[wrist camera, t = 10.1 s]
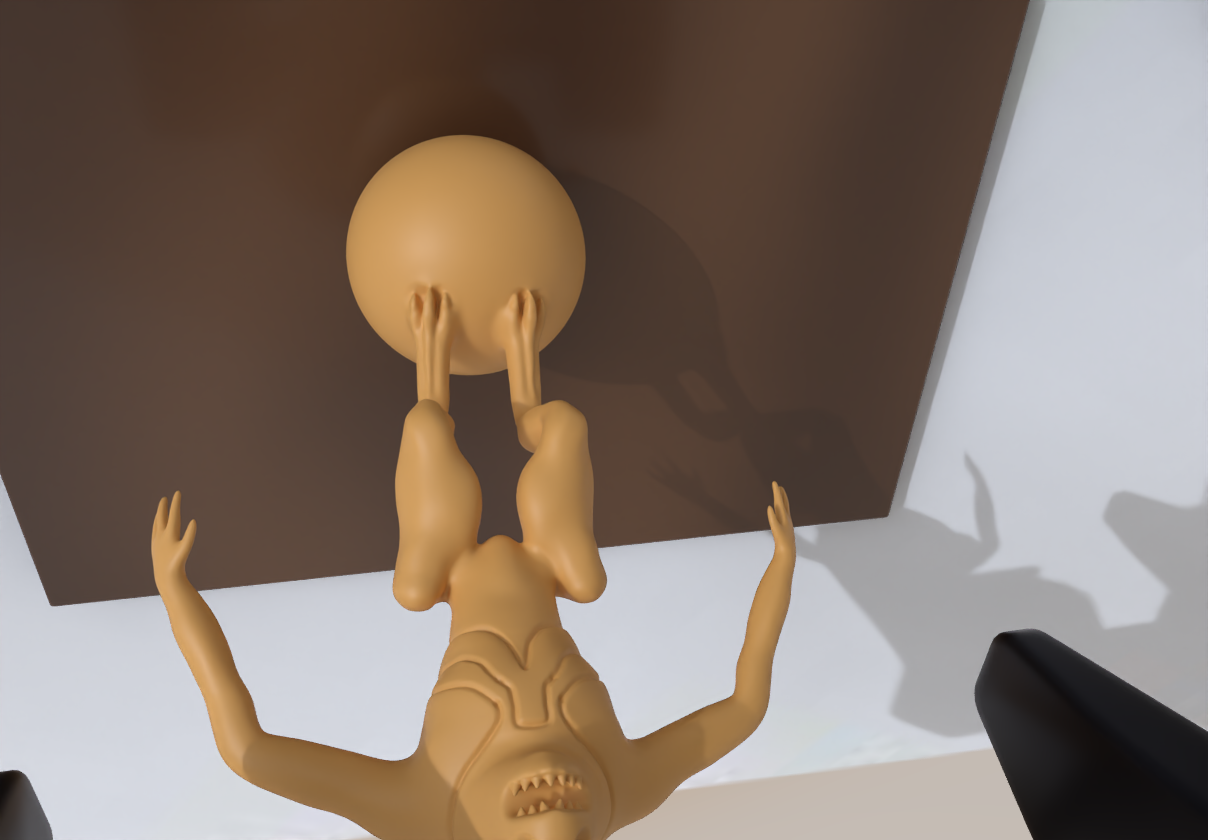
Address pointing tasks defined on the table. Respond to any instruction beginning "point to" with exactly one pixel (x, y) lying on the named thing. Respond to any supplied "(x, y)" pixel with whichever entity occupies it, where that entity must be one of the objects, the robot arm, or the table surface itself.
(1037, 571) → the table surface
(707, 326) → the walnut board
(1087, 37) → the table surface
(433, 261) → the figurine
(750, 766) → the table surface
